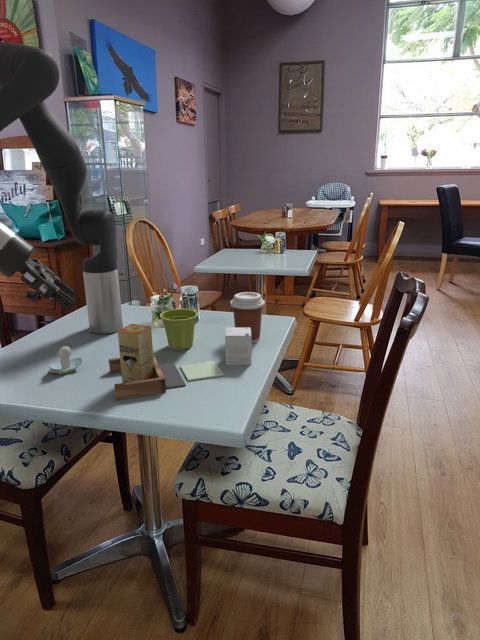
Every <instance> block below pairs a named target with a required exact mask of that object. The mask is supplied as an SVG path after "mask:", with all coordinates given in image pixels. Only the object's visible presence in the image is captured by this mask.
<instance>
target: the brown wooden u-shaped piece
mask: <svg viewBox="0 0 480 640" xmlns="http://www.w3.org/2000/svg"><path fill="white" fill-rule="evenodd" d="M153 359H154V373H155V378H154V379H147V380H140V381H134V382H127V383H122V382H121V383H116V384H114V385H113V386H114V394H115V395H114V396H115V401H119V400H126V399H132V398H138V397H139V398H140V397H144V396H150V395H156V394H157V395H158V394H163V393H166V392H167V388H166V385H165V378H164V375H163V373H162V371H161V369H160V367H159V366H160V365H159V363H158V361H157V358H156V356H155V354H154V353H153ZM108 366H109V373H110V374H112V373H113V374H114V373H120V372H121V362H120V357H113V358H108Z"/></svg>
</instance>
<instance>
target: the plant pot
mask: <svg viewBox="0 0 480 640" xmlns="http://www.w3.org/2000/svg"><path fill="white" fill-rule="evenodd" d="M198 313H199V312H198V311H197V310H194V309H188V308H174V309H169V310H166V311H162V312H161V313H160V315H159V318H160V319H161V320H162V323H163V326H164V331H165V336H166V340H167V344H168V347H169V349H171V350H174V351H183V350H185V349H191V348H192V347H193V344H194V335H195V323H196V320H197V317H198V315H199V314H198Z"/></svg>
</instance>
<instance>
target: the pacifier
mask: <svg viewBox="0 0 480 640" xmlns="http://www.w3.org/2000/svg"><path fill="white" fill-rule="evenodd" d="M71 355H72V350H71V348H70V347H69V346H66V345H65V346H62V347H60V349H59V350H58V351H57V357H58V358H59V359H60V363H54V364H50V365H48V367H49V370H48V372H49V373H51V374H59V375H62V374H63V375H64V374H69V373H72V372H74V371H75V370H76V369H78V368H79V367H80V366H81V365H82V363H83V359H82V358H81V357H75V358H74V357H73V358H72V359H71Z"/></svg>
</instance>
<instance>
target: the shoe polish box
mask: <svg viewBox="0 0 480 640" xmlns="http://www.w3.org/2000/svg"><path fill="white" fill-rule="evenodd" d="M152 333H153V332H152V326H151V325H145V324H136V323H130V324H129V325H126V326H123V328H122V329H120V330H118V331H117V339H118V350H119V358H120V362H121V379H122V380H121V383H127V382H134V381H140V380H147V379H154V378H155V373H154V359H153V354H154V348H153V346H154V345H153V336H152V335H153V334H152Z"/></svg>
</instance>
